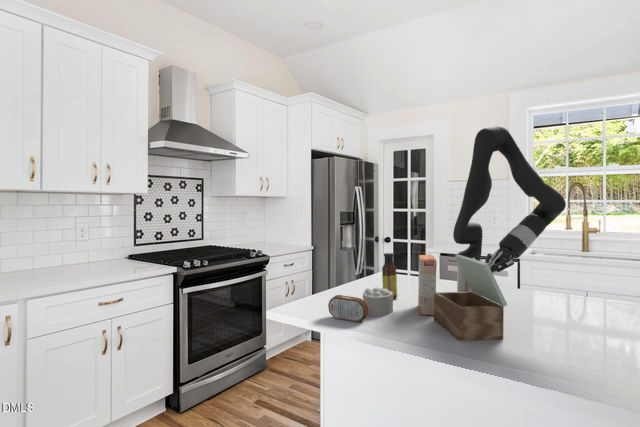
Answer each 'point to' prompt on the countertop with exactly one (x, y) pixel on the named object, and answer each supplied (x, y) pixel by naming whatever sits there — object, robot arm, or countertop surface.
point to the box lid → (481, 279)
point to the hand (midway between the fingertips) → (481, 277)
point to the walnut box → (468, 316)
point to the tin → (348, 308)
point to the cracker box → (426, 284)
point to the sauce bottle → (389, 274)
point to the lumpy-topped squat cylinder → (378, 301)
